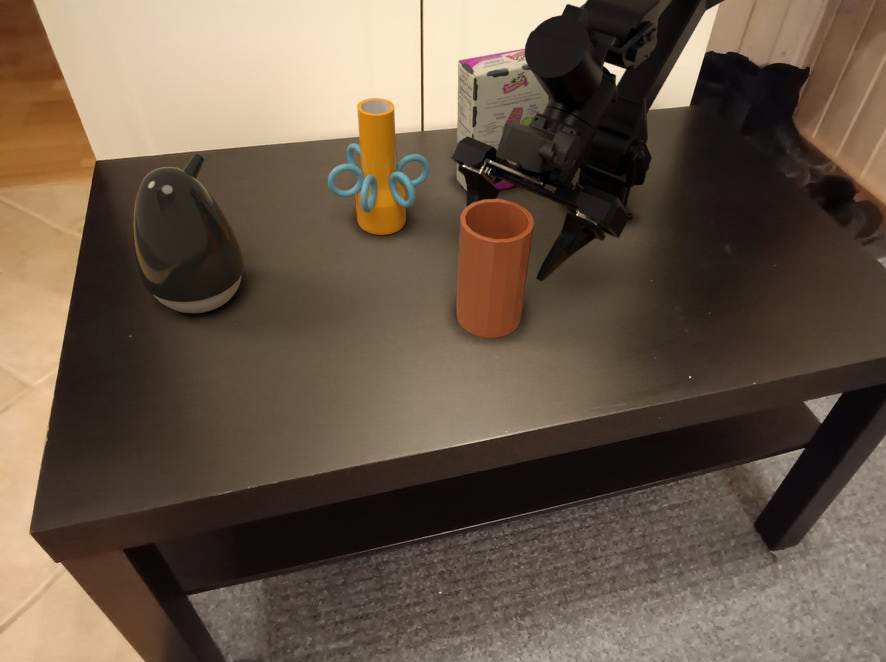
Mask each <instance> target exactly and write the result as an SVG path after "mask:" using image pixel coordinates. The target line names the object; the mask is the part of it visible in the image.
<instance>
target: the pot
mask: <svg viewBox="0 0 886 662" xmlns="http://www.w3.org/2000/svg"><path fill="white" fill-rule="evenodd" d="M466 206H467V205H466ZM466 206H465V207H464V209H463V210H462V211H461V214H460V216H459V232H458V234H459V235H458V255H457V256H458V257H457V258H458V260H457V279H456V284H457V285H456V301H455V302H456V305H455V308H456V321H457V322H458V324H459V326H460V327H461V328H462V329H463V330H464V331H466V332H467V333H469V334H471V335H473V336H476V337H478V338H484V339H497V338H498V339H499V338H502V337H505V336H508V335H510V334H512V333H513V332H515V330H516V329H518V327H519V325H520V324H521V319H522V315H523V310H524V309H523V308H524V301H525V296H526V287H527V281H528V280H527V277H528V273H529V265H530V264H529V263H530V257H531V250H532V242H533V234H534V227H535V221H534V218H533V215H532V214H531V212H529V210H528V209H527V208H525V207H524V206H522V205H521V204H518V203H517V202H514V201H511V200H506V199H501V198H496V199H485V200H481V201H477V202H474V203H472V204H470V205H469V206H467V207H466Z"/></svg>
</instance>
